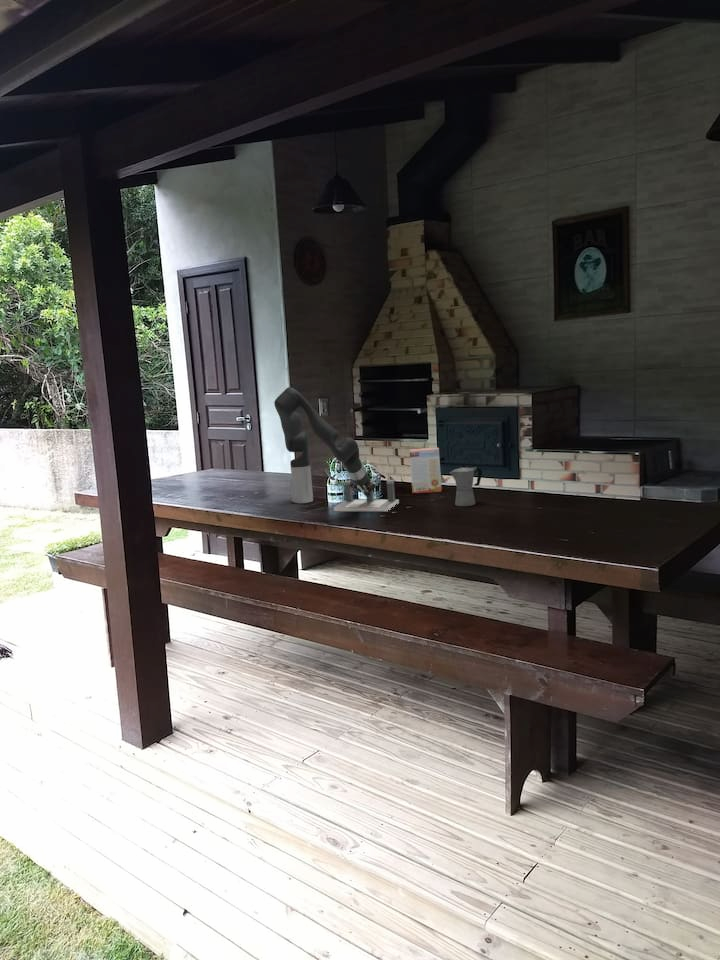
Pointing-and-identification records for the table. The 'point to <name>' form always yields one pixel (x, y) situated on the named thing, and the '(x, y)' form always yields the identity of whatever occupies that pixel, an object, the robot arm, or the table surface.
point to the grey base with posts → (368, 505)
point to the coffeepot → (465, 484)
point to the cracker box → (425, 470)
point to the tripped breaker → (371, 495)
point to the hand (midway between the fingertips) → (368, 494)
